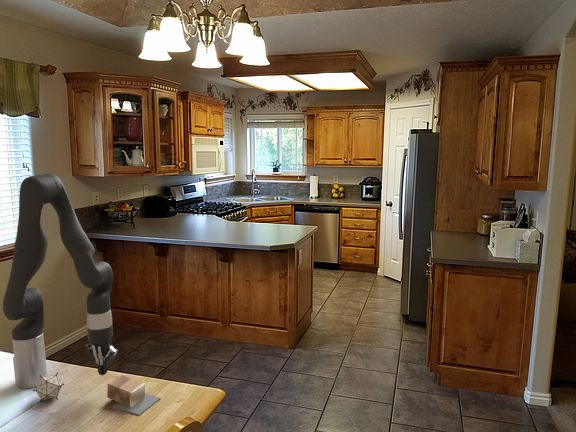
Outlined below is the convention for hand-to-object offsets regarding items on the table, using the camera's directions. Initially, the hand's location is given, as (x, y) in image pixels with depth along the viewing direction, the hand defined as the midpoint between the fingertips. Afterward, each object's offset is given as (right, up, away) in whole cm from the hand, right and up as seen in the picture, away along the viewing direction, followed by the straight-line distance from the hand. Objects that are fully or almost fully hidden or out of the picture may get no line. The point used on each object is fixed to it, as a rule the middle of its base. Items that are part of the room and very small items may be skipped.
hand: (102, 373), depth 147 cm
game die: (-17, -8, -1) cm, 18 cm away
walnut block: (+4, -4, -1) cm, 6 cm away
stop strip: (+7, -7, -2) cm, 10 cm away
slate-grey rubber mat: (+13, -8, -4) cm, 15 cm away
